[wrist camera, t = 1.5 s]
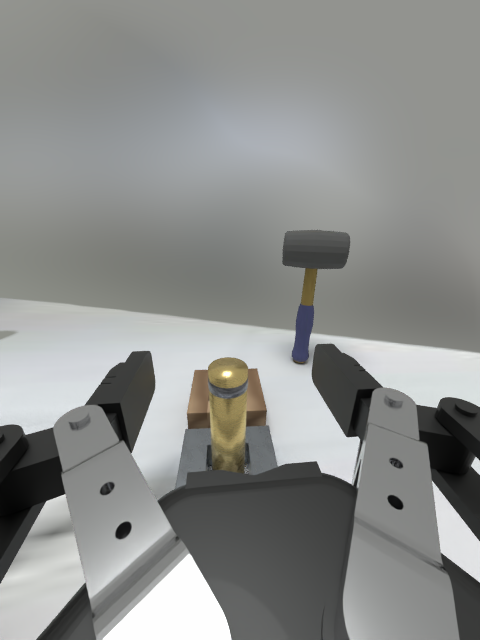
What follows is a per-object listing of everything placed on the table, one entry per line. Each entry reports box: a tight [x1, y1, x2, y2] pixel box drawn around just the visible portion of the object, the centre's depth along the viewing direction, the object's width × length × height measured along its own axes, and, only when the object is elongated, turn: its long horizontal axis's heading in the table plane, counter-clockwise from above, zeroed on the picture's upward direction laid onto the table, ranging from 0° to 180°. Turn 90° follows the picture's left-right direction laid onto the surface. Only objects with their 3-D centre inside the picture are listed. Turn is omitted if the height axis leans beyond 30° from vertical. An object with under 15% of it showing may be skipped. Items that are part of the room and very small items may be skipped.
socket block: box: [175, 426, 278, 489], centre depth 30 cm, size 12×11×4 cm
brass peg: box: [208, 358, 248, 474], centre depth 28 cm, size 4×4×18 cm
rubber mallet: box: [282, 230, 350, 363], centre depth 53 cm, size 12×8×30 cm, turn 78°
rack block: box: [187, 369, 267, 429], centre depth 42 cm, size 12×11×5 cm
